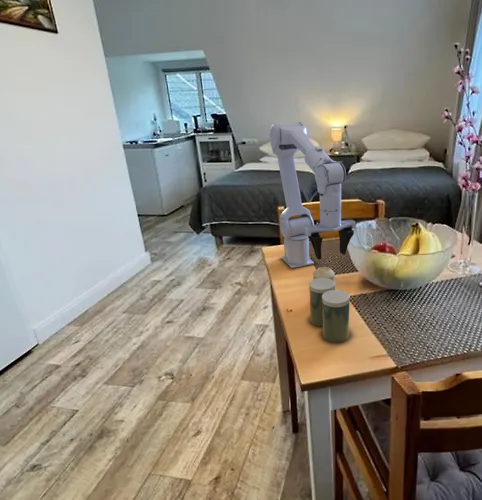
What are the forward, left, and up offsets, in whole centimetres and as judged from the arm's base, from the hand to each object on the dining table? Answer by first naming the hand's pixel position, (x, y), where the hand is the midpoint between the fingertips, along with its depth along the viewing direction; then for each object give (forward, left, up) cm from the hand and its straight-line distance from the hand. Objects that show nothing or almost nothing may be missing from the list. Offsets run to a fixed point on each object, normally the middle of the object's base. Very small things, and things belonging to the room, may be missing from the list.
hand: (330, 255), depth 108 cm
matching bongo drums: (+19, -10, -9) cm, 23 cm away
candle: (+8, -6, -10) cm, 14 cm away
